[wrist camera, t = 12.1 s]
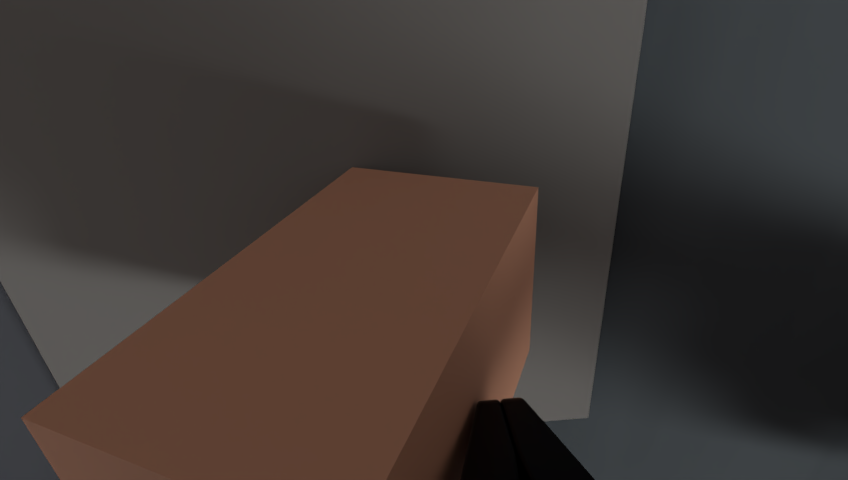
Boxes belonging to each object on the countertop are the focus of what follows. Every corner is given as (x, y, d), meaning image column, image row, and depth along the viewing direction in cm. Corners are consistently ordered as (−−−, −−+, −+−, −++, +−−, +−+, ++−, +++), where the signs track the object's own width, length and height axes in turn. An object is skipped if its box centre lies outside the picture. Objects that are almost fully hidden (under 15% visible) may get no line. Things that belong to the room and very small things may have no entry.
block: (538, 187, 12) (348, 551, 5) (529, 349, 15) (392, 746, 8) (352, 167, 14) (20, 418, 7) (372, 315, 17) (143, 610, 9)
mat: (648, -89, 12) (660, -90, 12) (583, 405, 20) (588, 417, 19) (-151, -37, 12) (-176, -36, 11) (106, 445, 20) (99, 459, 19)
